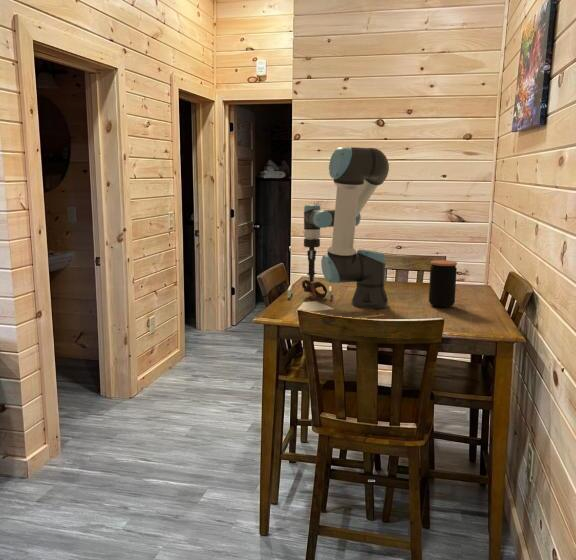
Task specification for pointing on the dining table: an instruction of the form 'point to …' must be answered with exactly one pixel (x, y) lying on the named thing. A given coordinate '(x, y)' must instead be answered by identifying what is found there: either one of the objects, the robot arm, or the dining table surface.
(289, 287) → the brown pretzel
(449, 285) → the coffee jar
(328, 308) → the mat
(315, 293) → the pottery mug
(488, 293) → the dining table surface
